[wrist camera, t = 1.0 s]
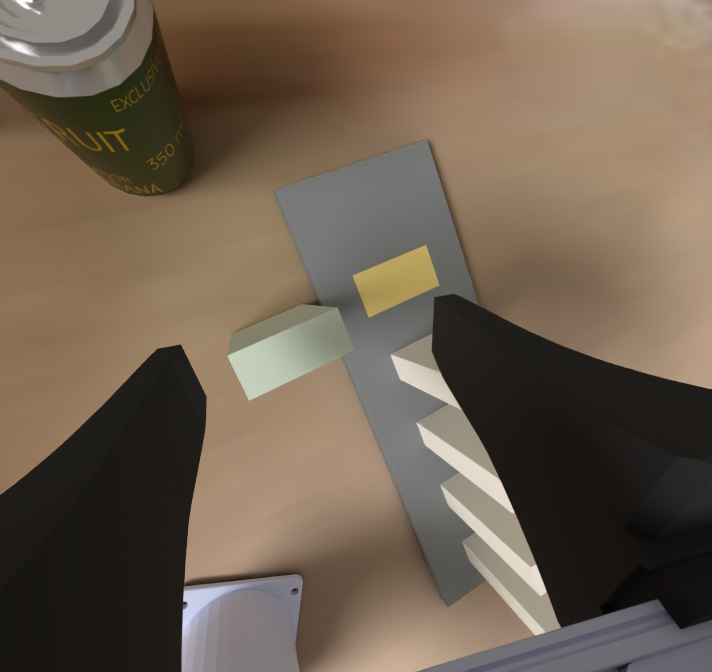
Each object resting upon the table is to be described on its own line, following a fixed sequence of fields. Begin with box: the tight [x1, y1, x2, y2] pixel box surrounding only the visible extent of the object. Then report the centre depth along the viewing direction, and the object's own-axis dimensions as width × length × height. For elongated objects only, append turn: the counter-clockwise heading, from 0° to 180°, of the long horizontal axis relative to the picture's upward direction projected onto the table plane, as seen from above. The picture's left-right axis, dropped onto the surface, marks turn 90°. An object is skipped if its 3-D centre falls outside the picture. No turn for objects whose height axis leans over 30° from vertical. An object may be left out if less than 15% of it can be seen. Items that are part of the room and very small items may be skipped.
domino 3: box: [416, 404, 515, 513], centre depth 23 cm, size 2×5×9 cm, turn 112°
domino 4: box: [440, 472, 547, 596], centre depth 24 cm, size 2×5×9 cm, turn 113°
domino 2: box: [390, 334, 462, 410], centre depth 22 cm, size 2×5×9 cm, turn 112°
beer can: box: [0, 0, 194, 196], centre depth 14 cm, size 5×5×12 cm
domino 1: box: [227, 304, 354, 400], centre depth 19 cm, size 2×5×9 cm, turn 112°
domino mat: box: [274, 139, 486, 607], centre depth 27 cm, size 34×11×1 cm, turn 22°
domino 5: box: [462, 532, 561, 636], centre depth 25 cm, size 2×5×9 cm, turn 112°
